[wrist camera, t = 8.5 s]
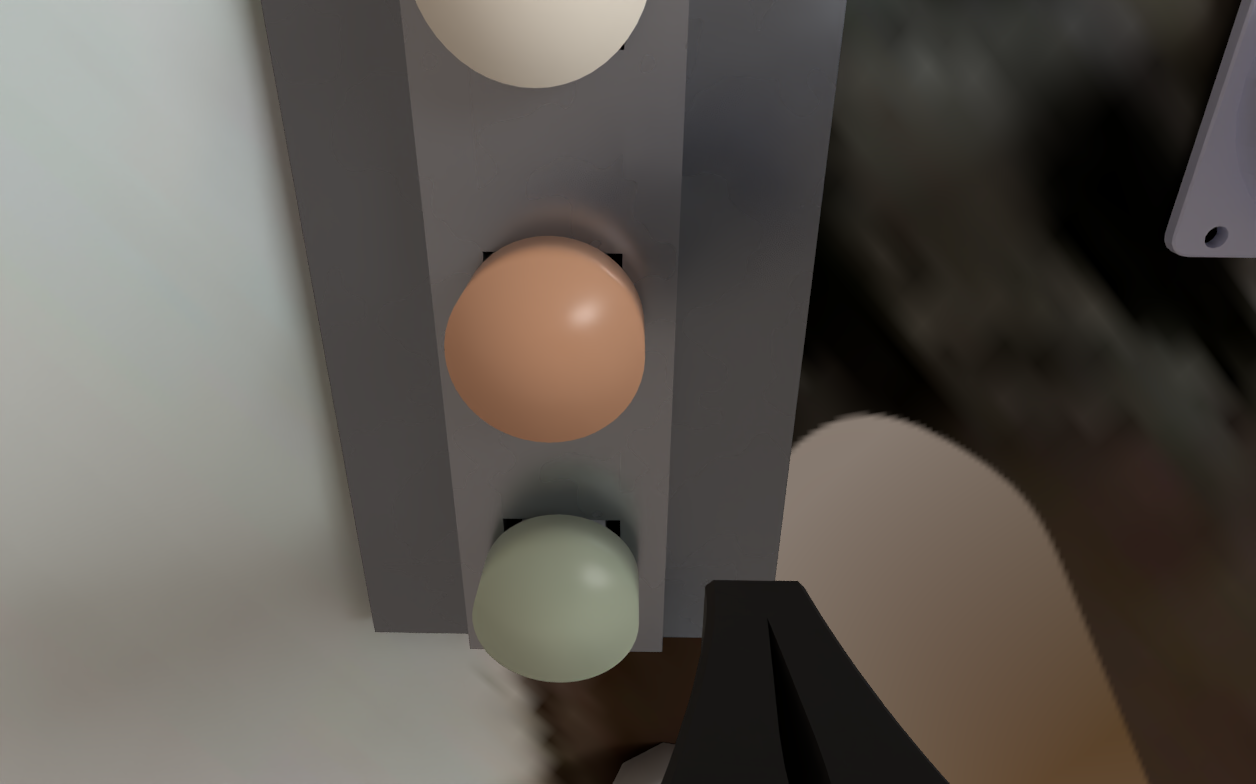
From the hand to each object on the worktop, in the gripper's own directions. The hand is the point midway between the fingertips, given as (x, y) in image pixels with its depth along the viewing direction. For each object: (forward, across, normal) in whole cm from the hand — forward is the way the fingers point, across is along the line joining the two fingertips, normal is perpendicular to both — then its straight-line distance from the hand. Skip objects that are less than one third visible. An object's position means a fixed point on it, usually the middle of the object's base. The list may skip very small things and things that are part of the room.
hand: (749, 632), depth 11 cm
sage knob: (+10, +4, +5) cm, 12 cm away
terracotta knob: (+10, +4, -2) cm, 11 cm away
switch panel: (+10, +4, -2) cm, 11 cm away
